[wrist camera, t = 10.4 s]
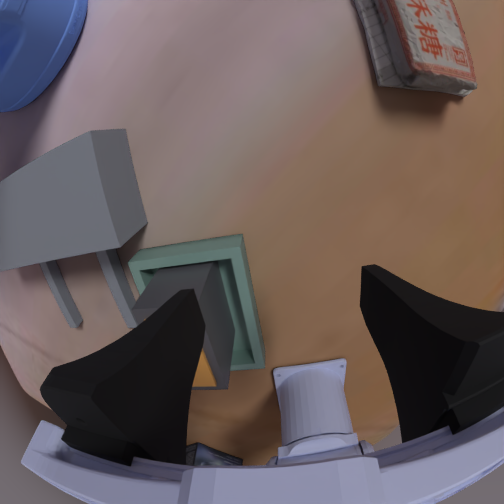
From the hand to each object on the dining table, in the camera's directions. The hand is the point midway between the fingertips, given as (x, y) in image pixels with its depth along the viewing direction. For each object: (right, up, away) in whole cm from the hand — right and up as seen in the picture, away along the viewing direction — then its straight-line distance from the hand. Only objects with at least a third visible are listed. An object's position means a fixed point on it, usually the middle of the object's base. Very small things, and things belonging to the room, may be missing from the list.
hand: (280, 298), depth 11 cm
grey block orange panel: (-6, -2, +12) cm, 13 cm away
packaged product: (+12, +23, +1) cm, 26 cm away
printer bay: (-18, +3, +11) cm, 22 cm away
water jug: (-23, +23, +2) cm, 33 cm away
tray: (-5, -3, +13) cm, 14 cm away
